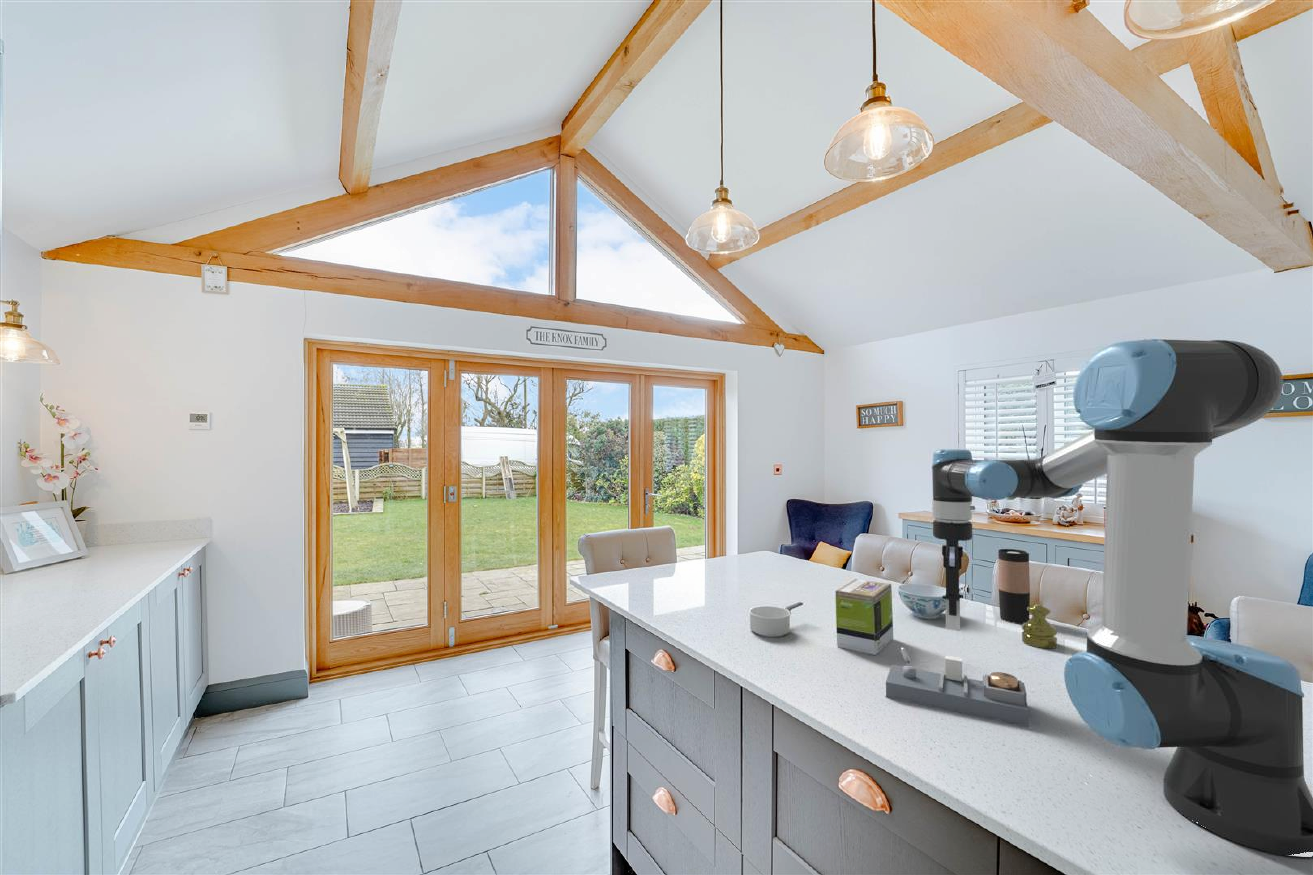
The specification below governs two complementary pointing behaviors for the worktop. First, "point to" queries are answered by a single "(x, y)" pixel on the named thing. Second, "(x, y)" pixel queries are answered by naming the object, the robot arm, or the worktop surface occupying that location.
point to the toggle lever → (905, 655)
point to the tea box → (864, 616)
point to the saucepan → (771, 620)
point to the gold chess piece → (1039, 628)
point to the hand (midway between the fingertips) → (952, 628)
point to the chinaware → (923, 599)
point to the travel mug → (1014, 585)
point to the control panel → (958, 694)
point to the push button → (1003, 681)
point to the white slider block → (953, 668)
